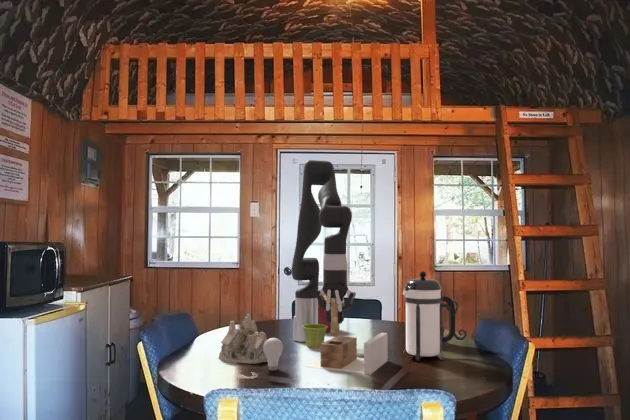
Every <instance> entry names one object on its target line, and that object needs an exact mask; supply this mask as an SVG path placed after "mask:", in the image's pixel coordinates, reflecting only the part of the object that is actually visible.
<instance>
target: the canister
mask: <svg viewBox="0 0 630 420" xmlns="http://www.w3.org/2000/svg"><path fill="white" fill-rule="evenodd" d="M323 297H324V299H325V302H326V300H327V296H326V295H325V293H324V295H323ZM326 304H327V303H326ZM318 324H322V325H326V326H328V327H327V328H326V332H325V333H331V323H328V321H327V319H326V310H325V309H322V308H321V306H320V304H319V302H318Z"/></svg>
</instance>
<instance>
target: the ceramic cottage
mask: <svg viewBox="0 0 630 420" xmlns="http://www.w3.org/2000/svg"><path fill="white" fill-rule="evenodd" d="M251 317H252V316H251V314H250V313H246V316H245V317H244V320H242V321H241V325H240V329H239V328H236V327H237V326H236V322H235V320H230V321H229V327H228V331H227V332H226V335H225V336H224V338H223V339H222V340H221V341H220V343H221V344H222V345H221V346H220V348H221V351H220V352H219V355H218V360H220V361H222V362H227V363H238V362H239V363H240V364H260V363H268V360H267V357H266V355H265V353H264V350H263V346H264V343H265V342H266V340H268V337H267V334H266V333H265V332H264V331H260V332H259V331H258V327H257V324H256V321H255V320H252V318H251ZM239 363H238V364H239Z"/></svg>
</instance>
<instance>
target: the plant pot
mask: <svg viewBox="0 0 630 420" xmlns="http://www.w3.org/2000/svg"><path fill="white" fill-rule="evenodd" d="M302 327H303V328H304V332H305V340H306V342H305V346H306V347H308V348H312V349H313V348H321V344H322V343H324V342H325V337H326V333H327V332H326V328H327V327H328V326H326V325H322V324H307V325H303V326H302Z"/></svg>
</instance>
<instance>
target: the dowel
mask: <svg viewBox="0 0 630 420" xmlns="http://www.w3.org/2000/svg"><path fill="white" fill-rule="evenodd" d="M338 312H339V310H338V305H337V301H336V298H331V332H330V337H332V338H334V337H338V336H340V330H341V329H340V327H341V326H340V324H338Z"/></svg>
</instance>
